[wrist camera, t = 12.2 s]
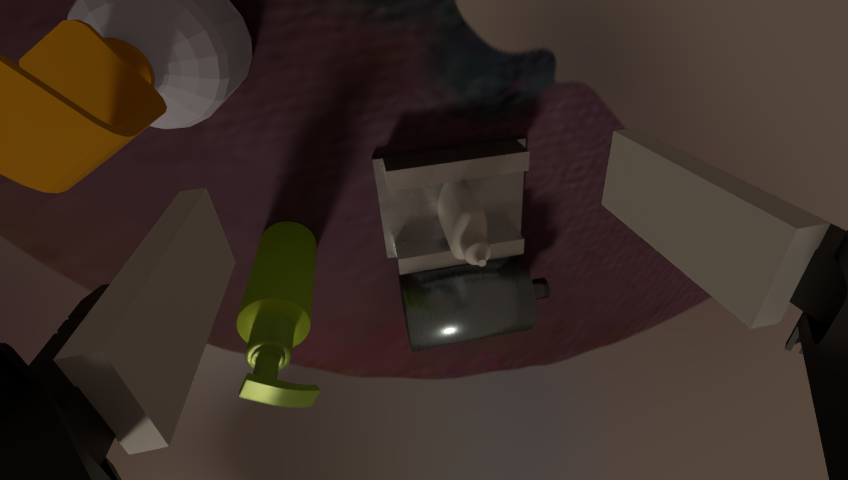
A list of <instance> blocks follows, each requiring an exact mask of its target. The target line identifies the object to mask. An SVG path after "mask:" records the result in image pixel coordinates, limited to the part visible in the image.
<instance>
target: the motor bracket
mask: <svg viewBox="0 0 848 480" xmlns="http://www.w3.org/2000/svg"><path fill="white" fill-rule="evenodd" d="M525 145H526V138H525V137H523V136H516V137H509V138H502V139H494V140H487V141H480V142H473V143H465V144H458V145H451V146H444V147H436V148H429V149H422V150H415V151H407V152H400V153H393V154H386V155H378V156H372V161H373V167H374V174H375V180H376V187H377V193H378V200H379V207H380V213H381V220H382V226H383V233H384V239H385V246H386V253H387V258H393V257H396V259H397V263H398V268H399V273H400V274H399V284H400V291H401V298H402V304H403V310H404V316H405V322H406V328H407V333H408V338H409V343H410V348H411V352H417V351H423V350H428V349H433V348H438V347H444V346H449V345H454V344H459V343H465V342H470V341H475V340H480V339H486V338H491V337H496V336H501V335H507V334H512V333H517V332H522V331H528V330H532V329H533V328H534V326H535V323H536V317H537V307H536V300H537V299H542V298H548V297H549V294H550V290H549V285H548V282H547V280H546V279H545V278H539V279H533V280H531V277H530V274H529V272H528V269H527V267H526V265H525V263H524V262H523V260H522V259H521V258H520V257H519V256H518V255H519V254H524V237H523V236H522V235H521V220H522V201H523V183H524V171H529V155H530V151H529V150H528V149H527V148H525ZM461 180H466V181H467V183H468V184H469V186H470V188H471V189H472V191H473V193H474V194H475V196H476V198H477V199H478V201H479V203H480V205H481V206H482V208H483V210H484V213H485V216H486V221H487V236H486V240H487V242H488V244H489V246H490V248H491V255H490V257H489V259H488V260H487V261H486V265H485V266H479V265H472V264H470V263H468V262H467V261H466V260H462V259H457V258H456V257H455V256H454V255H453V253H452V251H451V248H450V246H449V244H448V241H447V238H446V236H445V233H444V231H443V228H442V226H441V223H440V220H439V217H438V211H437V202H438V197H439V193H440V191H441V188H442V186H443V184H444V183H448V182H455V181H461Z"/></svg>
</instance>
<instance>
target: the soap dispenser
mask: <svg viewBox="0 0 848 480" xmlns="http://www.w3.org/2000/svg"><path fill="white" fill-rule="evenodd" d="M315 259H316V239H315V237H314V235H313V233H312V232H311V231H310V230H309V229H308V228H307V227H305V226H304V225H302V224H299V223H296V222H292V221H283V222H278V223H275V224H273V225H271V226H270V227H268V228H267V229H266V230H265V231H264V233H263V235H262V237H261V241H260V244H259V247H258V251H257V254H256V258H255V261H254V264H253V268H252V271H251V274H250V278H249V281H248V285H247V288H246V291H245V295H244V298H243V301H242V305H241V308H240V312H239V315H238V318H237V330H238V332H239V334H240V336H241V337H242V339H243V340H244V341H246V342H247V343H248V345H247V349H246V354H245V358H246V361H247V363H248V364H249V366H251V367H252V368H253V369H254V372H253V374H250V373H247V375H246V377H245V380H244V382H243V384H242V386H241V389H240V391H239V396H238V397H241V398H245V399H248V400H252V401H256V402H261V403H265V404H270V405H275V406H283V407H309V406H312V405H313V404H314V402H315V400H316V398H317V397H318V395H319V393H320V391H321V390H320V388H319V387H318V386H316V385H301V384H294V383H288V382H284V381H279V380H277V374H278V371H279V370H281V369H283V368H284V367H286V366H287V365H288V364H289V362H290V360H291V356H292V348H293V347H295V346H296V345H298V344H300V343H301V342H302V341H303V340H304V339H305V338H306V337H307V335H308V333H309V330H310V324H311V311H312V298H313V285H314V272H315Z"/></svg>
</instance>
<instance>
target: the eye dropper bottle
mask: <svg viewBox="0 0 848 480" xmlns="http://www.w3.org/2000/svg"><path fill="white" fill-rule="evenodd" d="M437 211H438V217H439V220H440V223H441V226H442V228H443V231H444V233H445V236H446V238H447V241H448V244H449V246H450V248H451V251H452V253H453V255H454V256H455V257H456V258H457V259H462V260H466V261H467V262H468V263H470V264H472V265H479V266H485V265H486V261H487V260H488V259H489V257H490V255H491V248H490V246H489V244H488V242H487V240H486V236H487V221H486V216H485V213H484V210H483V208H482V206H481V205H480V203H479V201H478V199H477V198H476V196H475V194H474V193H473V191H472V189H471V188H470V186H469V184H468V183H467V181H466V180H461V181H455V182H448V183H444V184H443V186H442V188H441V191H440V193H439V197H438V202H437Z"/></svg>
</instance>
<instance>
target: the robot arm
mask: <svg viewBox="0 0 848 480" xmlns="http://www.w3.org/2000/svg"><path fill="white" fill-rule="evenodd" d="M602 205H603V206H604V207H606V208H607V209H608V210H609V211H610V212H612V213H613V214H614V215H615V216H616V217H617V218H619V219H620V220H621V221H622V222H623V223H625V224H626V225H627V226H628V227H629V228H631V229H632V230H633V231H634V232H635V233H637V234H638V235H639V236H640V237H641V238H643V239H644V240H645V241H646V242H647V243H649V244H650V245H651V246H652V247H653V248H655V249H656V250H657V251H658V252H659V253H661V254H662V255H663V256H664V257H665V258H667V259H668V260H669V261H670V262H671V263H673V264H674V265H675V266H676V267H677V268H679V269H680V270H681V271H682V272H683V273H685V274H686V275H687V276H688V277H689V278H690V279H692V280H693V281H694V282H695V283H696V284H698V285H699V286H700V287H701V288H702V289H704V290H705V291H706V292H707V293H708V294H710V295H711V296H712V297H713V298H714V299H716V300H717V301H718V302H719V303H720V304H722V305H723V306H724V307H725V308H726V309H728V310H729V311H730V312H731V313H733V314H734V315H735V316H736V317H737V318H738V319H740V320H741V321H742V322H743V323H744V324H746V325H747V326H748V327H749V328H750V329H753V328H757V327H763V326H767V325H772V324H778V323H780V321H781V319H782V317H783V316H784V314H785V312H786V310H787V308H788V306H789V304H790V302H791V303H792V304H794V305H795V306H797V307H798V308H799V309H801V310H802V311H803V313H802V315H801V317H800V319H799V320H798V322H797V324H796V326H795V328H794V330H793V331H792V334H791V335H790V337H789V339H788V341H787V342H786V346H785V349H786V350H790V351H791V349H792V347H793V346H794V344H796V343H799V342H801V346H802V348H801V350H800V352H799V353H801V354H803V355H804V360H805V365H806V369H807V375H808V379H809V384H810V389H811V394H812V399H813V404H814V408H815V413H816V418H817V423H818V428H819V432H820V437H821V442H822V447H823V452H824V457H825V462H826V466H827V471H828V476H829V480H848V230H847V231H845V230H843V229H841V228H839V227H837V226H835V225H833V224H831V223H830V222H827V221H826V220H823V219H821V218H819V217H817V216H815V215H813V214H811V213H809V212H807V211H805V210H803V209H801V208H799V207H797V206H794V205H793V204H791V203H788V202H786V201H784V200H782V199H780V198H778V197H776V196H774V195H772V194H770V193H768V192H766V191H764V190H762V189H760V188H758V187H755V186H754V185H751V184H749V183H747V182H745V181H743V180H741V179H739V178H737V177H735V176H733V175H731V174H729V173H727V172H725V171H723V170H720V169H719V168H716V167H714V166H712V165H710V164H708V163H706V162H704V161H702V160H700V159H698V158H696V157H694V156H692V155H690V154H688V153H686V152H684V151H682V150H679V149H677V148H675V147H673V146H671V145H669V144H667V143H665V142H663V141H661V140H659V139H657V138H654V137H653V136H651V135H649V134H647V133H644V132H642V131H640V130H638V129H636V128H631V129H624V130H617V131H614V133H613V139H612V145H611V151H610V157H609V163H608V169H607V174H606V180H605V186H604V192H603V198H602ZM234 265H235V260H234V257H233V255H232V252H231V250H230V247H229V245H228V242H227V240H226V237H225V234H224V232H223V229H222V227H221V224H220V222H219V219H218V217H217V214H216V211H215V209H214V206H213V204H212V201H211V199H210V196H209V194H208V191H207V189H206V188H203V189H195V190H188V191H181V192H179V193H178V195H177V196H176V197H175V199H174V200H173V201H172V203H171V204H170V205H169V207H168V208H167V209H166V211H165V212H164V213H163V215H162V216H161V217H160V219H159V220H158V221H157V222H156V224H155V225H154V226H153V228H152V229H151V230H150V232H149V233H148V234H147V236H146V237H145V238H144V240H143V241H142V242H141V244H140V245H139V246H138V248H137V249H136V250H135V252H134V253H133V254H132V256H131V257H130V258H129V260H128V261H127V262H126V264H125V265H124V266H123V268H122V269H121V270H120V272H119V273H118V274H117V276H116V277H115V278H114V280H113V281H112V282H111V284H106V285H101V286H100V287H99V288H97V289H96V290H95V291H93V292H92V293H91V294H89V295H88V296H87V297H85V298H84V299H83V300H81V301H80V303H79V304H78V305H77V307H76V308H75V309H74V310H73V311H72V313H71V314H70V315H69V317H68V318H69V319H68V320H65V321H64V323H63V324H62V325H61V326H60V328H59V329H58V330H57V331H58V333H57V334H54V335H53V336H52V338H51V339H50V340H49V341H48V342H47V344H46V345H45V346H44V347H43V349H42V350H41V351H40V352H39V354H38V355H37V356H36V357H35V359H34V360H33V361H32V362H31V364H30V365H29V366H28V365H27V364H26V363H25V362H24V361H23V359H22V358H21V357H20V356H19V355H18V354H17V352H16V351H15V350H14V349H13V348H12V347H11V346H9V345H8V344H6V343H0V480H121V478H120V476H119V474H118V473H117V471H116V469H115V467H114V466H113V464H112V463H111V462H110V461H109V460H108V459H107V458H106V455H107V453H108V451H109V449H110V447H111V445H112V443H113V440H114V438H116V439H117V440H118V442H119V443H120V444H121V445H122V447H123V448H124V449H125V450H126V452H127V453H128V454H134V453H139V452H144V451H149V450H154V449H159V448H164V447H169V445H170V442H171V439H172V437H173V434H174V431H175V428H176V425H177V423H178V420H179V417H180V414H181V412H182V409H183V406H184V403H185V400H186V398H187V395H188V392H189V390H190V387H191V384H192V381H193V379H194V376H195V373H196V370H197V368H198V365H199V362H200V359H201V356H202V353H203V351H204V348H205V345H206V343H207V340H208V337H209V334H210V332H211V329H212V326H213V323H214V321H215V318H216V315H217V312H218V310H219V307H220V304H221V301H222V299H223V296H224V293H225V290H226V287H227V285H228V282H229V279H230V276H231V274H232V271H233V268H234Z"/></svg>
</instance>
